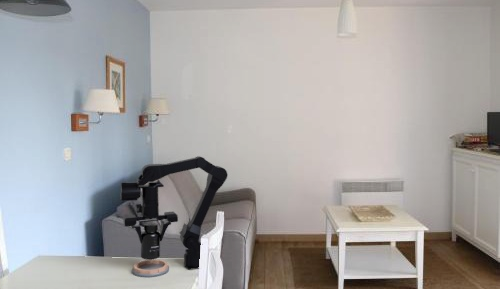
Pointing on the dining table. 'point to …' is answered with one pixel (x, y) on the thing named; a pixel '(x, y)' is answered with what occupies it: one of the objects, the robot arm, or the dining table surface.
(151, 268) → the bottle holder
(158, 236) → the supplement bottle
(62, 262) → the dining table surface
